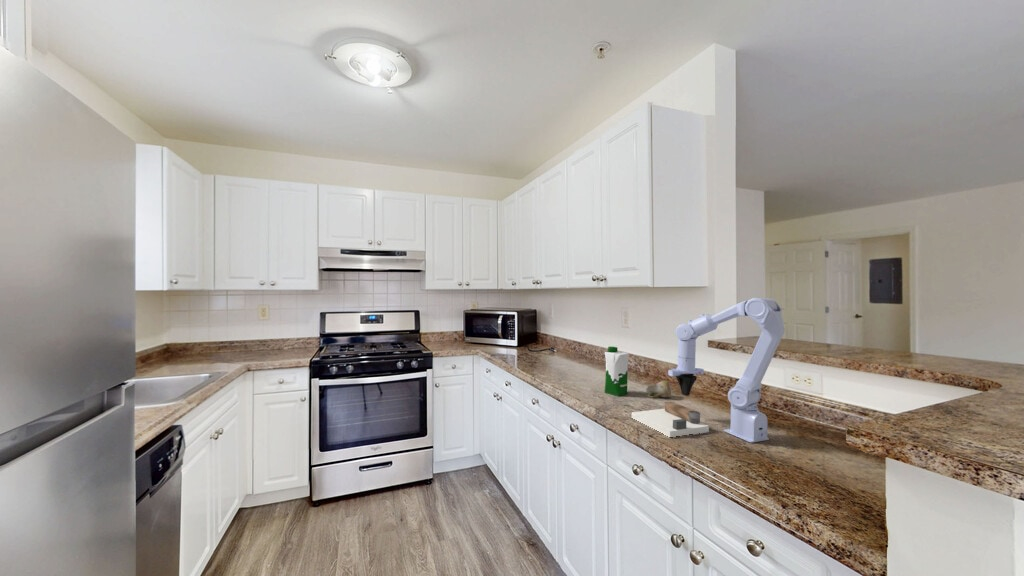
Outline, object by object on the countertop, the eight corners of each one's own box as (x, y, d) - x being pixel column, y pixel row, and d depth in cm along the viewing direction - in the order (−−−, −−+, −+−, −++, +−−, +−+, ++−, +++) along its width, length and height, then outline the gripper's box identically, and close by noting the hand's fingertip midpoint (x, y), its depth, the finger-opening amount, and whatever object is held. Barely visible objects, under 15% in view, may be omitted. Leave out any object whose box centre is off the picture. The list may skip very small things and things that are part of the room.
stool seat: (708, 432, 117) (709, 418, 117) (669, 438, 111) (670, 423, 111) (667, 413, 133) (667, 401, 133) (631, 418, 128) (631, 405, 128)
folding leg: (702, 422, 119) (702, 413, 119) (694, 423, 117) (694, 414, 117) (671, 409, 131) (671, 401, 131) (664, 410, 130) (664, 402, 130)
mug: (645, 392, 162) (658, 374, 161) (665, 407, 156) (678, 387, 155) (641, 392, 156) (654, 373, 155) (661, 406, 150) (675, 387, 149)
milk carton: (612, 389, 165) (613, 345, 165) (630, 393, 159) (631, 348, 159) (601, 392, 160) (602, 347, 160) (619, 397, 153) (620, 350, 153)
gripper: (692, 354, 136) (691, 390, 136) (662, 356, 131) (661, 393, 131) (708, 358, 130) (707, 395, 130) (677, 359, 125) (676, 399, 125)
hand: (685, 395), depth 130 cm, fingers closed
